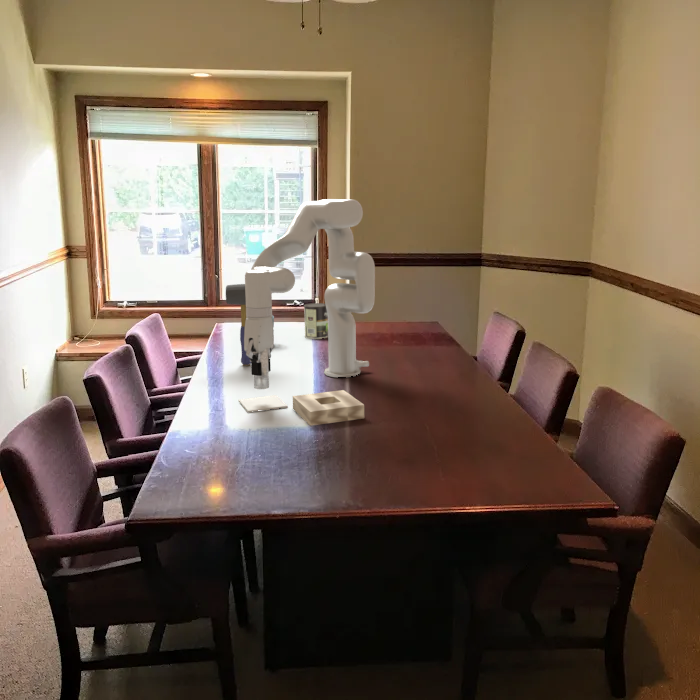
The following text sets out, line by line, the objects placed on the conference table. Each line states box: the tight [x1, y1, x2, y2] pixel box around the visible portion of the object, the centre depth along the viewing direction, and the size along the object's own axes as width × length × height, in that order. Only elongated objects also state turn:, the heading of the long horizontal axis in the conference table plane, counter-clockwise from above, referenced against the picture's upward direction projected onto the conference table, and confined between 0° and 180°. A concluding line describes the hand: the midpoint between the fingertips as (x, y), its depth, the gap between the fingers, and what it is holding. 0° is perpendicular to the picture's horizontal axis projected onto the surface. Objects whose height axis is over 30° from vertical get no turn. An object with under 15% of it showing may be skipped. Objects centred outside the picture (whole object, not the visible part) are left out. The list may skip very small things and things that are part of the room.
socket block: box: [292, 389, 365, 427], centre depth 203 cm, size 16×16×4 cm
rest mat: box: [238, 394, 288, 413], centre depth 212 cm, size 12×12×1 cm
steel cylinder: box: [253, 348, 270, 390], centre depth 209 cm, size 4×4×12 cm
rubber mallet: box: [225, 283, 251, 367], centre depth 256 cm, size 12×8×30 cm, turn 93°
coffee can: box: [303, 302, 328, 340], centre depth 305 cm, size 10×10×14 cm
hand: (261, 372), depth 210 cm, fingers closed on steel cylinder, 4 cm apart
